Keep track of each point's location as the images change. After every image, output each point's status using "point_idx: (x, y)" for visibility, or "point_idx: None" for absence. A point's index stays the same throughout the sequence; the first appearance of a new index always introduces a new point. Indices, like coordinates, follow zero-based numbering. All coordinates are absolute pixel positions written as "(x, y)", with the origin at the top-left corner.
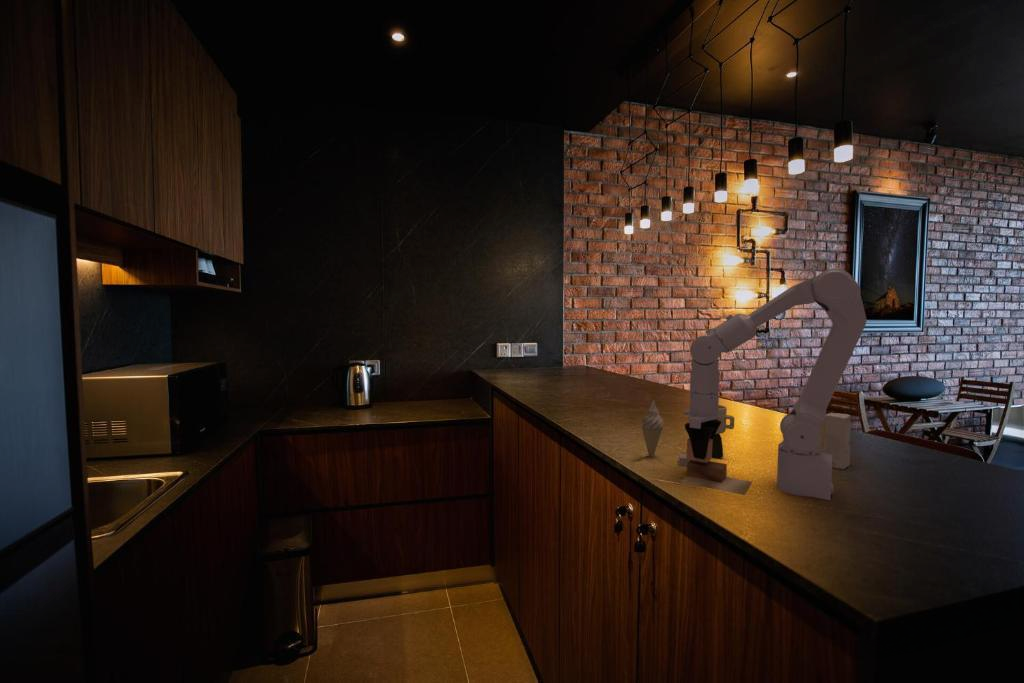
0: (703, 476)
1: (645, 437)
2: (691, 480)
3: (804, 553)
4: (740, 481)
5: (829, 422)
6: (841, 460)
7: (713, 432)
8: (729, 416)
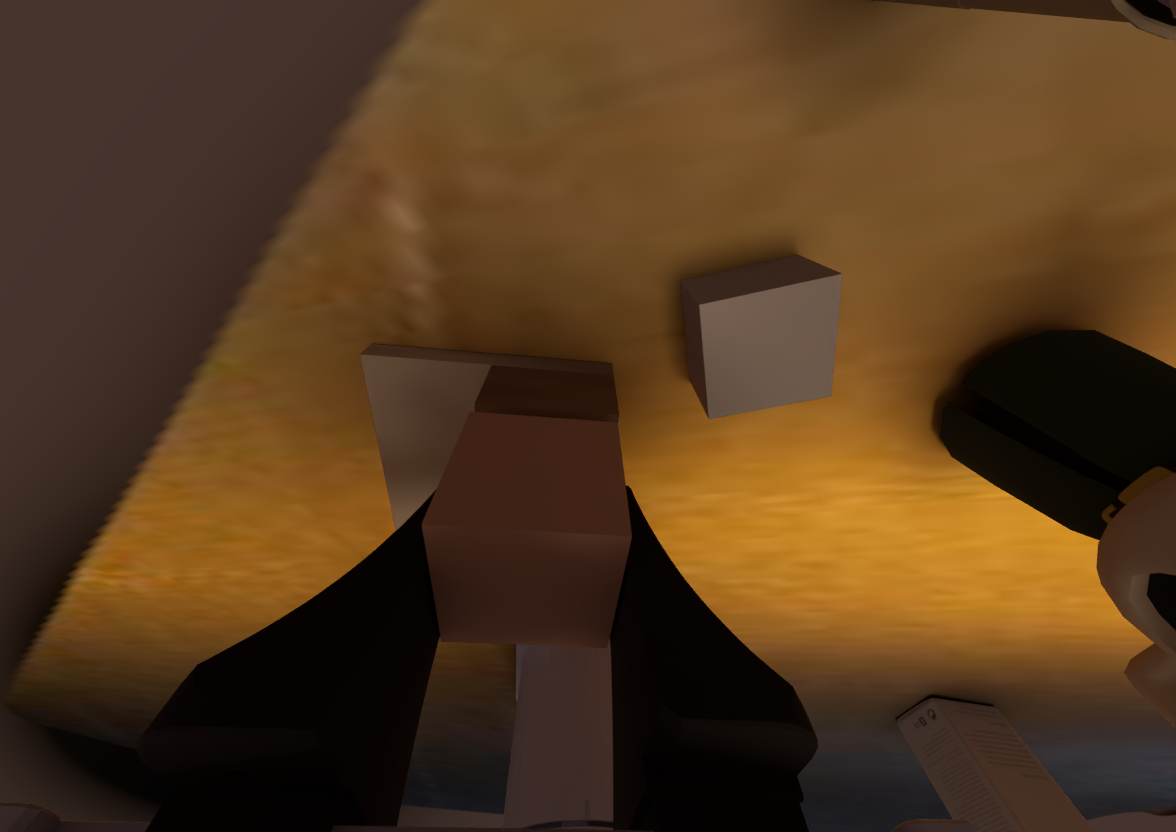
0: None
1: None
2: (428, 398)
3: (147, 659)
4: None
5: None
6: (917, 749)
7: (613, 712)
8: None
